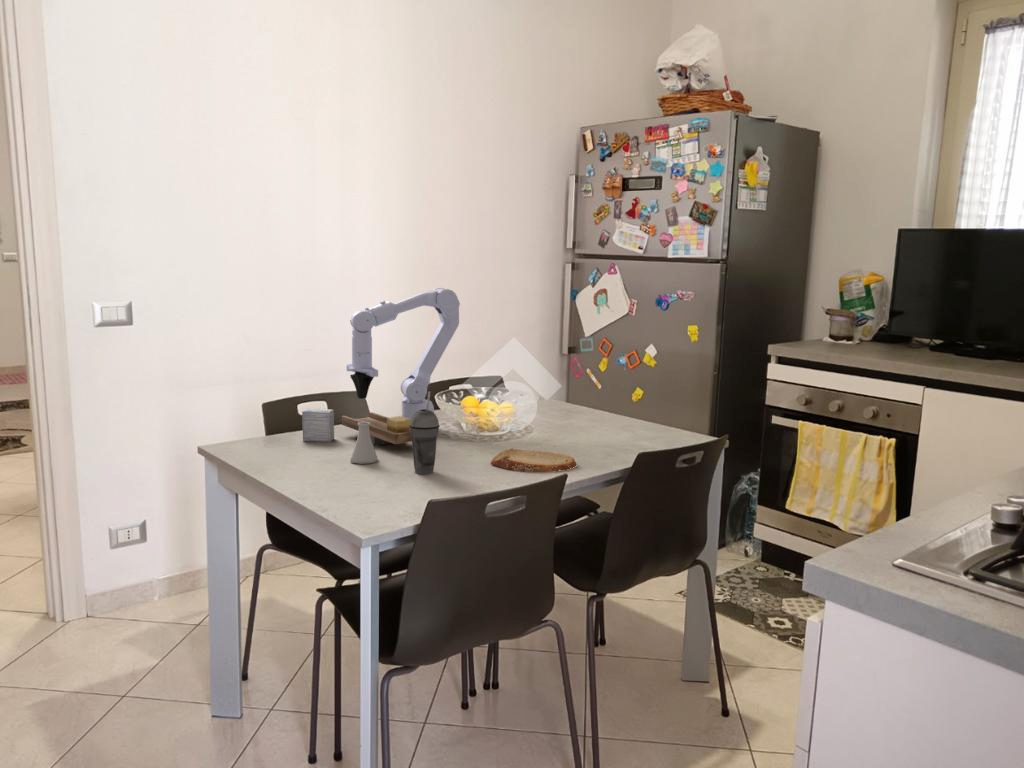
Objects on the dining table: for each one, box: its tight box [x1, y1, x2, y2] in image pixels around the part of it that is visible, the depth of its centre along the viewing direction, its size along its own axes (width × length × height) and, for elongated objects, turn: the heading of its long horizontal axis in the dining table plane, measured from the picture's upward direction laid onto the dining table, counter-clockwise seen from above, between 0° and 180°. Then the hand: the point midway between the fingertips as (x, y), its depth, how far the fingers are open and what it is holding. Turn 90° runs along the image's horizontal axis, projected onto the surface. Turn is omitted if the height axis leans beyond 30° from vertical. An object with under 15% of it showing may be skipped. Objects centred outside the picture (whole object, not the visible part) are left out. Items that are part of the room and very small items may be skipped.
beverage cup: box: [409, 391, 440, 475], centre depth 195 cm, size 7×7×20 cm
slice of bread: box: [490, 447, 578, 473], centre depth 205 cm, size 18×18×4 cm
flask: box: [350, 422, 379, 465], centre depth 205 cm, size 7×7×10 cm
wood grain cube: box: [387, 415, 411, 434], centre depth 219 cm, size 5×5×4 cm
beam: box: [341, 411, 412, 445], centre depth 226 cm, size 10×28×3 cm, turn 41°
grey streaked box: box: [301, 408, 335, 443], centre depth 227 cm, size 8×4×9 cm, turn 84°
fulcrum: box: [370, 435, 390, 446], centre depth 225 cm, size 8×2×3 cm, turn 131°
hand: (362, 398), depth 236 cm, fingers closed
